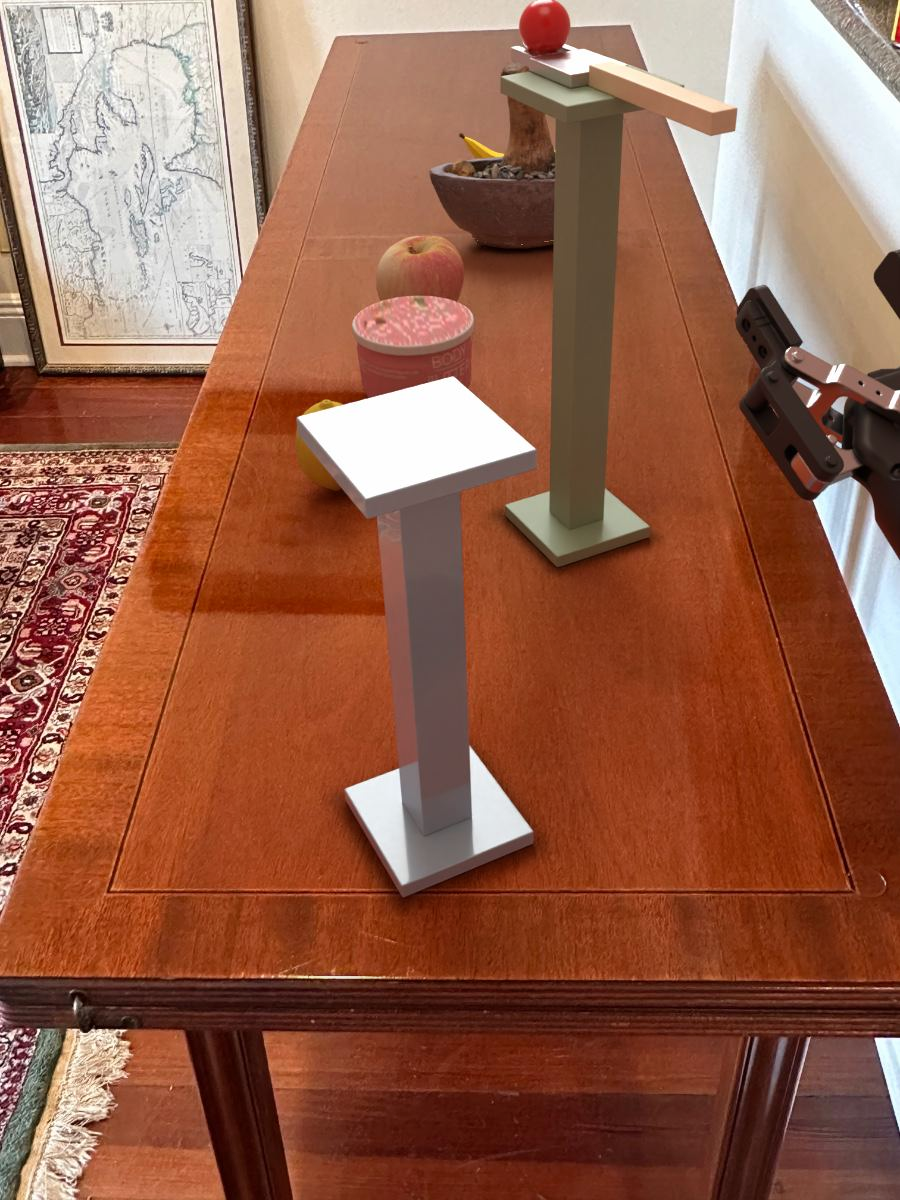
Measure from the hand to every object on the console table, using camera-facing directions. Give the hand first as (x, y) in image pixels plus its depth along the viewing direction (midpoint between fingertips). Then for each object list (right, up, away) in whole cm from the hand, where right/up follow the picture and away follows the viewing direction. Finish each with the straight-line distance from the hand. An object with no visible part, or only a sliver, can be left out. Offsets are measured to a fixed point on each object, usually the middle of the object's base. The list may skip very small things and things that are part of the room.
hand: (819, 278), depth 59 cm
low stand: (-19, -28, +9) cm, 35 cm away
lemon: (-27, -7, +37) cm, 47 cm away
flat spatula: (-8, +14, +10) cm, 19 cm away
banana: (-7, +39, +96) cm, 104 cm away
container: (-21, +2, +49) cm, 53 cm away
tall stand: (-9, -10, +32) cm, 35 cm away
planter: (-10, +25, +79) cm, 83 cm away
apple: (-21, +13, +63) cm, 67 cm away
